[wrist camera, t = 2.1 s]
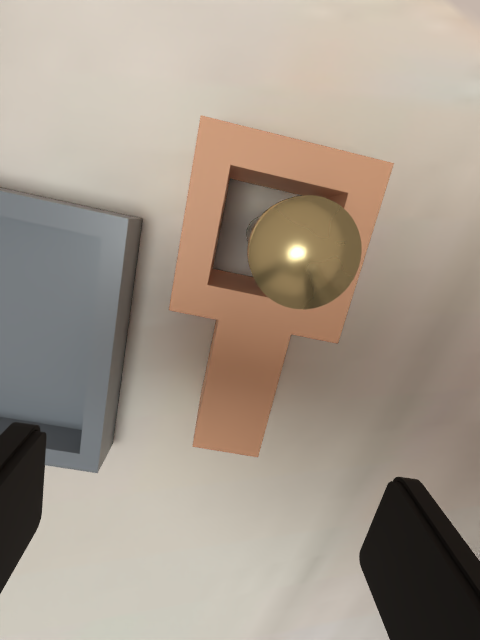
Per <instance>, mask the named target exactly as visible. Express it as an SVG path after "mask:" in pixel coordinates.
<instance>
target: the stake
mask: <svg viewBox="0 0 480 640" xmlns="http://www.w3.org/2000/svg"><path fill="white" fill-rule="evenodd" d="M246 237H247V241H248V253H247V255H248V262H249V266H250V270H251V272H252V275H253V277H254V279H255V281H256V283H257V285H258V286H259V288H260V289H261V290H262V292H263V293H264V294H265V295H266V296H267V297H269V298H270V299H271V300H273V301H274V302H276V303H278V304H280V305H282V306H284V307H288V308H292V309H313V308H317V307H320V306H323V305H326V304H328V303H329V302H331V301H333V300H334V299H336V298H337V297H339V296H340V295H341V294H342V293H343V292H344V291H345V290H346V289H347V288H348V287H349V285H350V284H351V282H352V281H353V279H354V277H355V275H356V273H357V271H358V268H359V265H360V261H361V253H362V244H361V238H360V234H359V230H358V228H357V226H356V223H355V222H354V220H353V218H352V217H351V216H350V214H349V213H348V212H347V211H346V210H345V209H344V208H343V207H342V206H340V205H339V204H337V203H336V202H334V201H332V200H330V199H327V198H324V197H321V196H315V195H303V196H296V197H293V198H289V199H286V200H283V201H281V202H278V203H277V204H275V205H273V206H272V207H270V208H269V209H268V210H266V211H265V212H264V213H263V214H262V215H261V216H260V217H257V218H255V219H254V220H253V221H252V222H251V223H250V224H249V226H248V228H247V232H246Z"/></svg>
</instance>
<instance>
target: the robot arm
mask: <svg viewBox="0 0 480 640" xmlns="http://www.w3.org/2000/svg"><path fill="white" fill-rule="evenodd" d="M46 438H47V436H46V433H45V432H40V426H39V425H34V424H27V423H20V422H13V423H12V424H11V425H10V426H9V427H8V428H7V429H6V430H5V431H4V432H3V433H2V434H1V435H0V593H1V592H2V590H3V588H4V586H5V585H6V583H7V581H8V579H9V578H10V576H11V574H12V572H13V571H14V569H15V567H16V565H17V564H18V562H19V560H20V558H21V557H22V555H23V553H24V551H25V550H26V548H27V546H28V544H29V543H30V541H31V539H32V537H33V535H34V534H35V532H36V530H37V528H38V525H39V523H40V519H41V515H42V501H43V485H44V470H45V454H46ZM359 558H360V565H361V568H362V571H363V573H364V576H365V578H366V581H367V583H368V586H369V588H370V591H371V593H372V596H373V598H374V601H375V603H376V606H377V608H378V611H379V613H380V616H381V618H382V621H383V623H384V626H385V629H386V631H387V634H388V636H389V639H390V640H480V561H479V560H478V558H477V557H476V556H475V554H474V553H473V552H472V550H471V549H470V548H469V546H468V545H467V544H466V542H465V541H464V540H463V538H462V537H461V535H460V534H459V533H458V531H457V530H456V529H455V527H454V526H453V525H452V523H451V522H450V521H449V519H448V518H447V517H446V515H445V514H444V513H443V511H442V510H441V508H440V507H439V506H438V504H437V503H436V502H435V500H434V499H433V498H432V496H431V495H430V494H429V492H428V491H427V490H426V488H425V487H424V486H423V484H422V483H421V482H420V481H419V480H417V479H410V478H403V477H396V478H395V479H394V480H393V481H391V482H389V483H388V485H387V487H386V490H385V492H384V494H383V497H382V499H381V502H380V504H379V507H378V509H377V511H376V514H375V516H374V519H373V521H372V523H371V526H370V528H369V531H368V533H367V536H366V538H365V540H364V543H363V545H362V548H361V550H360V556H359Z"/></svg>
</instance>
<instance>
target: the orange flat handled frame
mask: <svg viewBox="0 0 480 640" xmlns="http://www.w3.org/2000/svg"><path fill="white" fill-rule="evenodd" d="M393 164H394V163H390V162H386V161H382V160H378V159H374V158H370V157H366V156H362V155H358V154H354V153H350V152H346V151H342V150H338V149H334V148H330V147H326V146H322V145H318V144H314V143H310V142H306V141H302V140H298V139H294V138H290V137H286V136H282V135H278V134H274V133H270V132H266V131H261V130H257V129H253V128H249V127H245V126H241V125H237V124H233V123H229V122H225V121H221V120H217V119H213V118H209V117H205V116H201V117H200V123H199V129H198V136H197V142H196V148H195V154H194V160H193V166H192V172H191V178H190V184H189V190H188V196H187V203H186V209H185V215H184V221H183V227H182V233H181V239H180V245H179V251H178V257H177V264H176V270H175V276H174V282H173V288H172V294H171V300H170V306H169V310H170V311H175V312H180V313H185V314H190V315H195V316H200V317H206V318H211V319H216V323H215V328H214V333H213V338H212V343H211V348H210V353H209V357H208V362H207V367H206V372H205V377H204V382H203V387H202V392H201V397H200V403H199V409H198V415H197V422H196V428H195V434H194V441H193V447H199V448H205V449H211V450H217V451H223V452H229V453H235V454H241V455H247V456H254V457H258V455H259V452H260V448H261V444H262V440H263V437H264V433H265V429H266V426H267V422H268V418H269V414H270V411H271V407H272V403H273V400H274V396H275V392H276V388H277V385H278V381H279V377H280V374H281V370H282V366H283V362H284V359H285V355H286V351H287V348H288V344H289V340H290V336H291V334H292V335H297V336H302V337H307V338H312V339H317V340H322V341H327V342H332V343H337V344H338V342H339V338H340V335H341V332H342V329H343V325H344V322H345V319H346V316H347V313H348V309H349V306H350V303H351V300H352V296H353V293H354V290H355V287H356V284H357V280H358V277H359V274H360V271H361V267H362V264H363V261H364V258H365V255H366V251H367V248H368V245H369V242H370V239H371V235H372V232H373V229H374V226H375V222H376V219H377V216H378V213H379V210H380V206H381V203H382V200H383V197H384V193H385V190H386V187H387V184H388V181H389V177H390V174H391V171H392V168H393ZM230 179H235V180H239V181H243V182H247V183H252V184H256V185H260V186H265V187H269V188H273V189H277V190H282V191H286V192H290V193H294V194H299V195H315V196H321V197H324V198H327V199H330V200H332V201H334V202H336V203H337V204H339V205H340V206H342V207H343V208H344V209H345V210H346V211H347V212H348V213H349V214H350V216H351V217H352V218H353V220H354V222H355V223H356V226H357V228H358V230H359V234H360V238H361V244H362V253H361V261H360V265H359V268H358V271H357V273H356V275H355V277H354V279H353V281H352V282H351V284H350V285H349V287H348V288H347V289H346V290H345V291H344V292H343V293H342V294H341V295H340V296H339V297H337V298H336V299H334V300H333V301H331V302H329V303H328V304H326V305H323V306H320V307H317V308H313V309H292V308H288V307H284V306H282V305H280V304H278V303H276V302H274V301H273V300H271V299H270V298H269V297H267V296H266V295H265V294H264V293H263V292H262V290H261V289H260V288H259V286H258V285H257V283H256V281H255V279H254V277H250V276H245V275H240V274H235V273H231V272H226V271H221V270H216V269H213V264H214V259H215V254H216V249H217V244H218V238H219V233H220V228H221V223H222V218H223V213H224V207H225V202H226V197H227V192H228V187H229V181H230Z"/></svg>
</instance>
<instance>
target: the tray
mask: <svg viewBox="0 0 480 640" xmlns="http://www.w3.org/2000/svg"><path fill="white" fill-rule="evenodd" d="M142 220H143V219H142V218H138V217H133V216H129V215H124V214H119V213H115V212H110V211H106V210H101V209H97V208H92V207H87V206H83V205H78V204H74V203H69V202H65V201H60V200H55V199H51V198H46V197H42V196H37V195H33V194H28V193H23V192H19V191H14V190H10V189H5V188H1V187H0V435H1V434H2V433H3V432H4V431H5V430H6V429H7V428H8V427H9V426H10V425H11V424H12V423H13V422H20V423H27V424H34V425H39V426H40V432H45V433H46V436H47V438H46V454H45V465H48V466H55V467H61V468H68V469H74V470H81V471H87V472H94V473H98V471H99V469H100V467H101V465H102V463H103V461H104V459H105V458H106V456H107V454H108V452H109V450H110V448H111V446H112V444H113V438H114V431H115V423H116V416H117V408H118V401H119V393H120V386H121V378H122V371H123V363H124V356H125V348H126V340H127V333H128V325H129V318H130V310H131V303H132V295H133V288H134V280H135V273H136V265H137V258H138V250H139V243H140V235H141V227H142Z"/></svg>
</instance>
